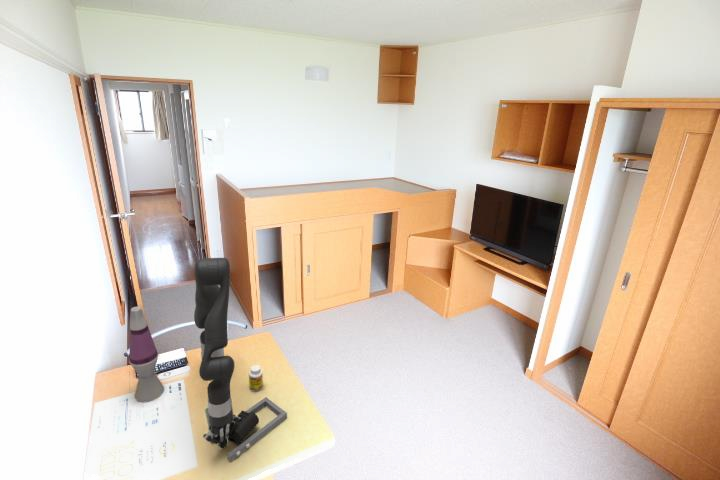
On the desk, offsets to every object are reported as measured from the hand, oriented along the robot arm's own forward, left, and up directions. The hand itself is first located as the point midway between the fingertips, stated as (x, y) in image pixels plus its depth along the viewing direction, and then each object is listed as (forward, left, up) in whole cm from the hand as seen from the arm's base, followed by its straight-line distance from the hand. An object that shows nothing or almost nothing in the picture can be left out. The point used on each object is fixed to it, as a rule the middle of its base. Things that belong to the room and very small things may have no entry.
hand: (223, 446), depth 133 cm
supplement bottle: (-16, +27, -2) cm, 31 cm away
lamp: (-46, -4, -2) cm, 46 cm away
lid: (-6, +4, +7) cm, 10 cm away
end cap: (0, +8, -2) cm, 9 cm away
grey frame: (0, +11, -1) cm, 11 cm away
